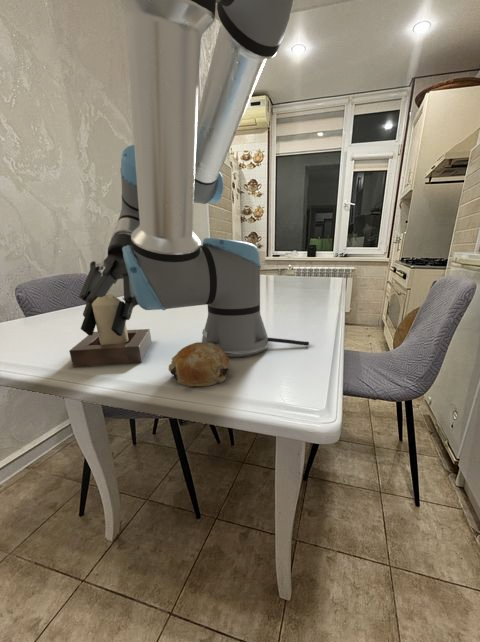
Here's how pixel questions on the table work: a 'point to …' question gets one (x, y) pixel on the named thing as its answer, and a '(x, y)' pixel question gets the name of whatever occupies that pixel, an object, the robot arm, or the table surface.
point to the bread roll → (199, 365)
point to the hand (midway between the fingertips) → (101, 332)
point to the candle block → (111, 350)
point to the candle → (107, 320)
